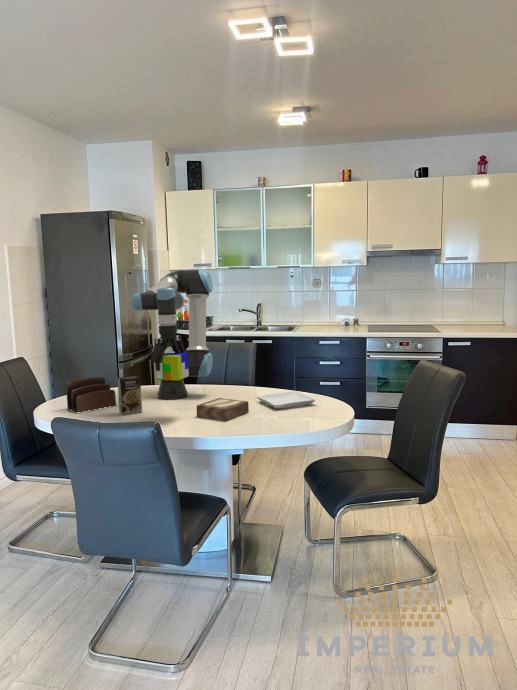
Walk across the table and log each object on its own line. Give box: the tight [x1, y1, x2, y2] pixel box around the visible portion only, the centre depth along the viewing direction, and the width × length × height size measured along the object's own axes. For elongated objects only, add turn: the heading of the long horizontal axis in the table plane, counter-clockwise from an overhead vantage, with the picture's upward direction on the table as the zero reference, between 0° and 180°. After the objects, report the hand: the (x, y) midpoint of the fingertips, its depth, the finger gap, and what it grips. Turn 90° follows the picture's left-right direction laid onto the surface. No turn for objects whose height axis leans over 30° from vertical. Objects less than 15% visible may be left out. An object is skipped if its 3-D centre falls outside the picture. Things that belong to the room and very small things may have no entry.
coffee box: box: [117, 375, 143, 416], centre depth 229 cm, size 9×6×16 cm
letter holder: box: [65, 376, 117, 413], centre depth 240 cm, size 10×20×14 cm, turn 136°
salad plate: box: [256, 390, 316, 410], centre depth 238 cm, size 21×21×3 cm
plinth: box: [196, 397, 250, 422], centre depth 221 cm, size 16×16×5 cm
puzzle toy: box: [155, 352, 190, 381], centre depth 216 cm, size 10×10×10 cm
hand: (170, 375), depth 216 cm, fingers closed on puzzle toy, 11 cm apart
